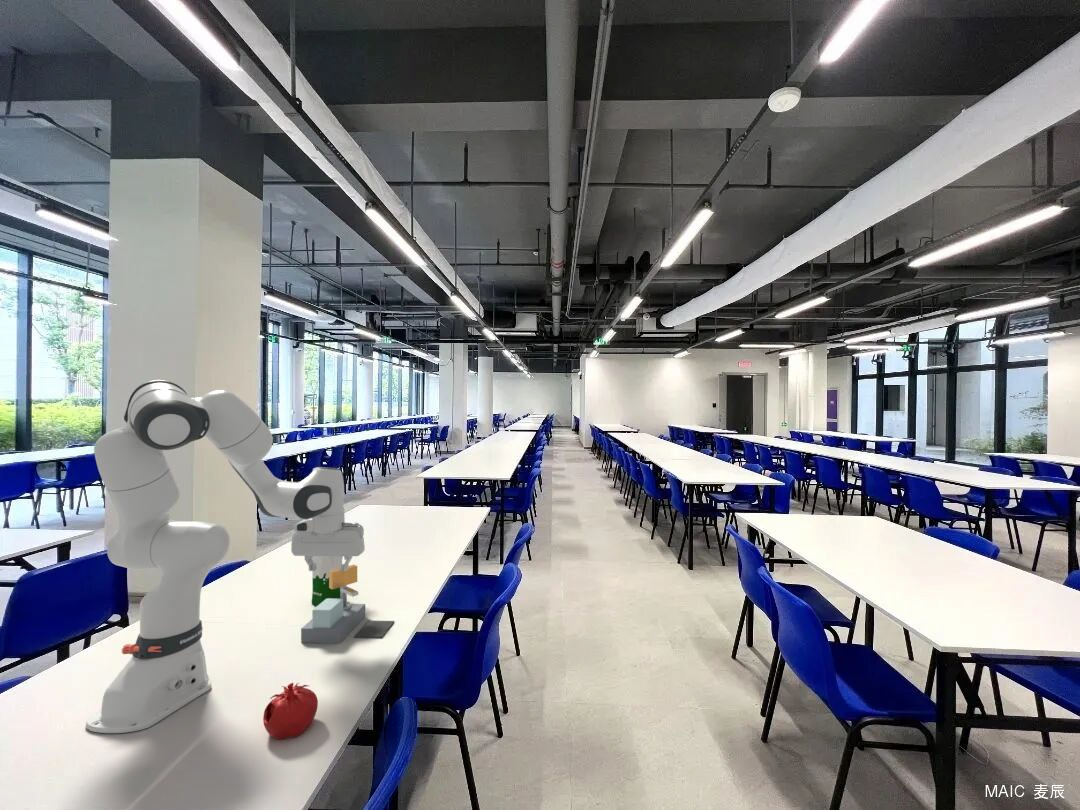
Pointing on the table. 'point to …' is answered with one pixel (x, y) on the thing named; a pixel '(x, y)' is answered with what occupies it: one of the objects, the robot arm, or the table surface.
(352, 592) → the key
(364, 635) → the mat
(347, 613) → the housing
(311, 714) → the pomegranate
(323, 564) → the milk carton
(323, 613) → the pale blue block
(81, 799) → the table surface
